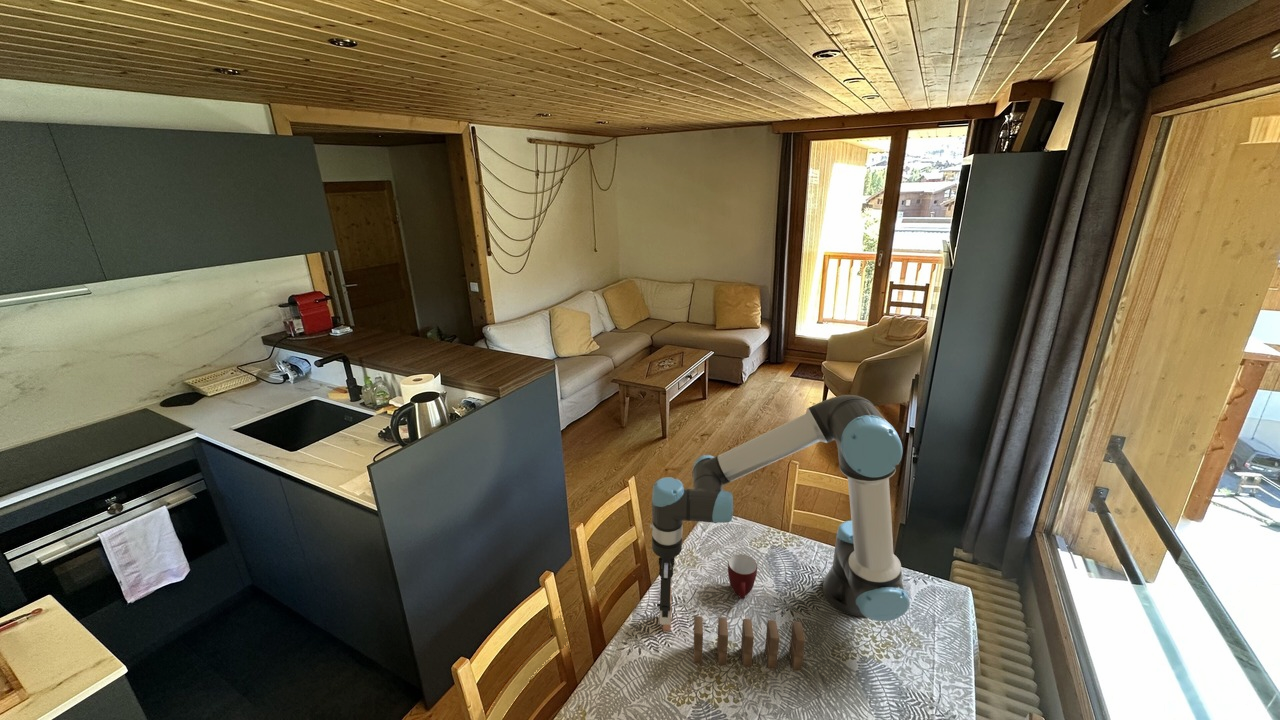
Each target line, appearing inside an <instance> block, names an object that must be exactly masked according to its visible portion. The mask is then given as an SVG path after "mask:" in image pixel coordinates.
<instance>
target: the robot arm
mask: <svg viewBox="0 0 1280 720" xmlns="http://www.w3.org/2000/svg"><path fill="white" fill-rule="evenodd" d="M832 441H835V442H836V447H837V453H838V455H837V456H838V464H839V466H838V467H839V471H841V473H842V474H843V475H844V476H845V477H847V484H848V485H847V486H848V496H849V505H850V506H849V507H850V509H849V510H850V517H851V520H845V521H843V522H842V523H840V524H839V526H837V527H838V529H837V531H836V535H835V536H836V537H835V538H836V539H835V544H834V545H835V546H834V551H833V552H834V553H833V561H832V566H831V568H830V569H829V571H828V572H827V574H826V575H825V577H824V579H823V585H822V593H823V595H824V597H825V599H826V600H827V602H828V603H830V605H831V606H833V607H834V608H835V609H837V610H838V611H840V612H842V613H845V615H850V616H852V617H853V616H854V617H858V618H859V617H860V618H861V617H865V618H868V619H870V620H871V621H874V622H876V621H877V622H890V621H891V622H892V621H894V620H896V619H899V618H900V617H902V616H904V615H905V614H906V613H908V611H909V609H910V605H911V602H910V598H909V593H908V592H907V591H906V590H905V588H904V587H905V586H904V585H903V575H902V574H903V572H902V564H901V561H900V559H899V558H898V557H897V555H895V554H894V542H893V541H894V540H893V524H892V522H893V521H892V510H891V508H892V507H891V494H890V493H891V491H890V490H891V489H890V478H891V477H893V476H894V475H895V473H896V471H897V466H898V465H900V462H901V461H902V458H903V444H902V441H901V438H900V437H899V434H898V432H897V431H896V429H895V428H894V426H893V425H892V424H891V423H890V422H888V420H886V419H885V417H884V416H883V415H882V413H881V412H880V410H878V408H877V407H876V406H875V404H874V403H872V401H870V400H869V399H866V398H865V397H863V396H859V395H853V394H843V395H838V396H834V397H830V398H827V399H825V400H823V401H820V402H817V403H815V404H813V405H811V406H810V407H808V408H806V412H805V413H804V414H803V415H800V416H797V418H794V419H791V420H790V421H787V422H786V423H783V424H782V425H779V426H777V427H776V428H773V429H771V430H769V431H766V432H765V433H762V434H761V435H757V436H756V437H754V438H752V439H750V440H748V441H745V442H743V443H741V444H739V445H737V446H735V447H733V448H731V449H729V450H727V451H725V452H723V453H721V454H718V455H716V456H713V455H712V454H711V455H710V454H707V455H705V454H703V455H701V456H699V457H698V458H697V459H695V461H694V463H693V466H692V467H693V468H692V472H691V473H692V488H685V487H684V484H683V482H682V481H681V480H680V479H678V478H677V479H676V478H674V477H671V476H670V477H669V476H667V477H662V478H659V479H657V480H656V481H655V483H654V484H653V486H652V497H651V498H652V499H651V509H652V510H651V513H652V515H651V516H652V517H651V518H652V521H651V522H652V523H650V524H649V528H650V529H652V531H651V533H652V535H651V549H652V552H653V554H655V555H656V556H657V557H658V565H659V571H658V572H659V573H658V574H659V577H660V591H659V592H660V595H659V598H660V599H659V603H656V607H658V608H659V625H663V624H665V625H670V616H671V617H672V602H671V603H670V591H671V592H672V583H673V582H672V581H673V576H674V566H675V558H676V557H677V556H678V555H680V554H681V552H682V548H683V546H682V545H683V527H684V526H683V523H684V522H701V523H713V524H718V523H719V524H721V523H723V524H725V523H730V522H732V520H733V518H734V517H733V516H734V495H733V494H732V492H731V491H729V490H724V489H723V487H724V486H725V485H727V484H729V483H731V482H734V481H736V480H737V479H740V478H743V477H744V476H747V475H749V474H751V473H755V472H756V471H758V470H760V469H762V468H765V467H767V466H769V465H771V464H774V463H775V462H778V461H780V460H782V459H785V458H786V457H789V456H792V455H793V454H795V453H797V452H800V451H802V450H804V449H806V448H808V447H811V446H813V445H815V444H817V443H820V442H821V443H825V444H828V443H830V442H832Z"/></svg>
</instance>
